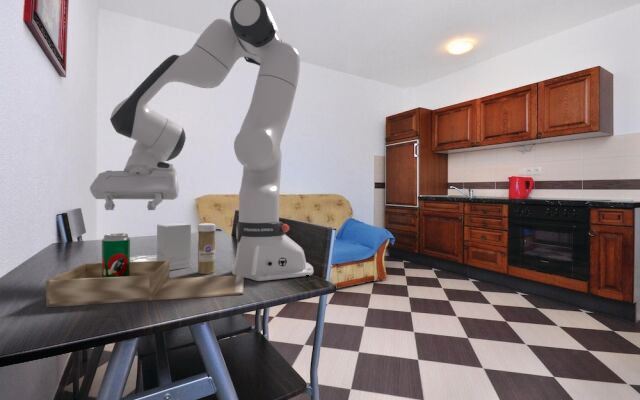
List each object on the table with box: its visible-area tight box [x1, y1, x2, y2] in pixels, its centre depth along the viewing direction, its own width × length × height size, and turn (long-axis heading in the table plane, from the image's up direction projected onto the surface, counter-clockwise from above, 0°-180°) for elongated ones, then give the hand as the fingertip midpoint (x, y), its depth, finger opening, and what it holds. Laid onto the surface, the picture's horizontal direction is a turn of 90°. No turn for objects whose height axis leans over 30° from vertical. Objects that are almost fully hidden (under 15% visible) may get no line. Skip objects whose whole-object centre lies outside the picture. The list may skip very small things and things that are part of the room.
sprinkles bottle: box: [197, 222, 217, 275], centre depth 81 cm, size 5×5×13 cm
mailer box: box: [45, 260, 245, 308], centre depth 67 cm, size 36×14×5 cm, turn 104°
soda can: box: [101, 232, 131, 278], centre depth 64 cm, size 5×5×12 cm
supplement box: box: [156, 222, 192, 271], centre depth 86 cm, size 7×7×13 cm
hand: (130, 208), depth 74 cm, fingers open, 8 cm apart
